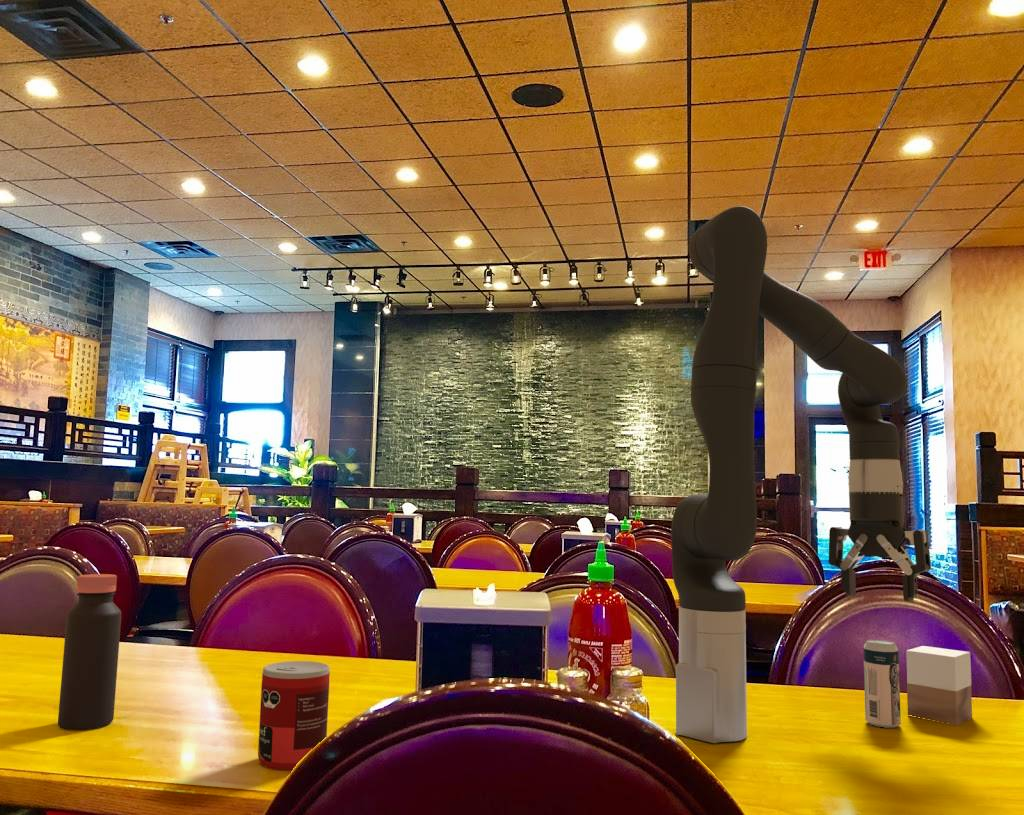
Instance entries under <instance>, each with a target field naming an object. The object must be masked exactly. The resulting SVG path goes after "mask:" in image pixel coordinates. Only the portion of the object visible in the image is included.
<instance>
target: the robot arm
mask: <svg viewBox="0 0 1024 815" xmlns="http://www.w3.org/2000/svg"><path fill="white" fill-rule="evenodd" d="M688 243H689V244H688V255H689V258H690V261H691V263H692V265H693V267H694V268H695V269H696V270H697V271H698V272H699V274H701V275H702V276H704V277H705V278H706V279H707V280H709V281H710V282H712V284H713V287H712V296H711V302H710V305H709V308H708V312H707V315H706V318H705V320H704V323H703V326H702V329H701V330H700V331H701V332H700V334H699V337H698V340H697V342H696V345H695V346H696V347H695V349H694V353H693V358H692V365H691V382H690V384H691V385H690V403H691V409H692V412H693V415H694V419H695V421H696V424H697V425H698V426H697V427H698V428H699V430H700V433H701V435H702V439H703V440H704V443H705V446H706V450H707V453H708V460H709V477H708V478H709V480H708V482H709V483H708V492H707V493H702V494H701V493H699V494H698V493H696V494H691V495H687V496H686V497H684V498H683V499H681V500H680V501H679V502H678V504H677V506H676V507H675V509H674V512H673V515H672V519H671V530H670V532H671V533H670V539H671V540H670V541H671V545H670V546H671V561H672V563H671V564H672V577H673V578H672V579H673V584H674V587H675V590H676V591H677V595H678V663H677V664H676V666H675V734H676V735H680V736H683V737H687V738H691V739H695V740H699V741H702V742H707V743H710V744H717V743H727V742H728V743H730V742H738V741H742V740H745V739H746V738H747V736H748V716H747V715H748V714H747V712H748V710H747V709H748V706H747V702H748V701H747V700H748V699H747V644H746V642H747V639H746V638H747V635H746V633H747V632H746V631H747V622H746V621H747V620H746V619H747V618H746V616H747V615H746V608H747V606H746V605H747V603H746V602H747V601H746V600H747V599H746V593H745V592H746V591H745V590H744V588H743V587H742V586H740V585H739V584H738V583H736V582H735V580H734V579H732V576H730V573H729V572H728V570H727V564H726V561H727V562H728V561H729V562H731V561H738V560H741V559H743V558H744V557H746V556H747V555H748V553H749V552H750V551H751V550H752V547H753V546H754V544H755V540H756V535H757V527H758V509H757V495H756V493H757V492H756V491H757V490H756V481H755V480H756V478H755V477H756V476H755V464H754V461H755V459H754V458H755V457H754V456H755V454H754V453H755V410H756V409H755V407H756V399H757V398H756V396H757V377H758V360H757V359H758V355H757V354H758V342H759V341H758V340H759V315H760V316H761V317H762V318H764V319H765V320H767V321H768V322H769V323H771V325H773V326H774V327H776V328H777V329H778V330H779V331H780V332H781V333H783V335H785V336H786V337H787V338H788V339H790V341H791V342H793V344H794V345H796V346H797V347H798V348H799V349H800V350H801V351H802V352H803V353H804V354H805V355H806V356H807V357H808V358H810V360H812V361H813V362H814V363H815V364H816V365H817V366H819V367H820V368H821V369H823V370H826V371H835V372H840V373H842V374H841V375H840V378H839V381H838V386H837V395H838V402H839V405H840V407H841V408H840V409H841V412H842V415H843V416H842V417H843V419H844V422H845V423H844V424H845V425H846V429H847V432H848V435H849V438H848V439H849V440H848V442H849V444H848V445H849V448H848V449H849V468H848V498H849V499H848V500H849V521H850V524H849V527H848V528H843V527H841V526H831V527H830V528H829V532H828V533H829V534H828V535H829V536H828V537H829V539H828V564H829V565H830V566H834V567H835V568H838V569H840V571H841V589H842V591H843V592H844V593H845V596H847V597H852V596H856V594H857V588H856V587H857V586H856V584H857V583H856V570H854V569H855V567H856V566H857V564H859V562H860V561H861V560H862V559H863V558H864V557H866V558H873V557H878V558H881V559H889V558H891V559H892V561H893V562H894V563H896V565H898V567H899V568H900V569H901V571H902V572H903V573H904V574H903V575H902V596H903V601H904V602H914V599H915V598H918V597H917V596H918V595H919V594H918V575H919V574H921V573H924V572H929V571H931V570H932V563H931V553H930V543H929V536H928V535H929V534H928V532H927V531H926V530H925V529H917V530H916V529H915V530H908V531H907V529H906V527H905V524H904V522H905V520H904V517H905V515H904V494H903V493H904V492H903V490H904V482H903V473H902V468H901V462H900V458H901V457H900V440H899V431H898V428H897V426H896V424H894V423H892V422H890V421H886V420H885V421H884V419H883V416H882V413H881V409H880V406H883V405H889V404H893V403H895V402H897V401H899V400H900V399H902V397H903V396H904V395H905V393H907V392H906V391H907V389H908V377H907V374H906V372H905V370H904V368H903V367H902V365H901V364H900V362H898V361H897V359H895V358H894V357H893V356H892V355H890V354H889V353H888V352H886V351H884V350H883V349H882V348H879V347H877V346H875V345H874V344H873V343H871V342H869V341H867V340H866V339H863V338H862V337H859V336H858V335H856V334H855V333H854V332H853V331H851V329H850V328H849V327H848V326H847V325H846V324H845V323H843V322H842V320H840V319H839V318H838V317H837V316H836V315H835V314H834V313H833V312H832V311H831V310H830V309H828V308H827V307H826V306H825V305H823V304H821V303H820V302H819V301H817V300H816V299H814V298H812V297H810V296H808V295H806V294H804V293H802V292H799V291H797V290H795V289H793V288H791V287H789V286H788V285H785V284H783V283H782V282H780V281H778V280H777V279H775V278H773V277H772V276H771V275H769V274H768V273H766V272H765V267H766V266H765V265H766V260H767V259H766V258H767V254H768V253H767V252H768V233H767V229H766V225H765V223H764V221H763V220H762V218H761V216H760V215H759V214H758V213H757V212H756V211H754V210H753V209H752V208H750V207H747V206H745V205H744V206H743V205H742V206H741V205H739V206H733V207H730V208H727V209H725V210H723V211H721V212H719V213H718V214H716V215H715V216H714V217H712V218H711V219H709V220H708V221H706V222H705V223H704V224H703V225H701V226H700V227H699V228H697V230H695V232H693V234H692V236H691V237H690V239H689V242H688ZM847 538H849V539H850V541H851V542H852V543H853V545H852V546H851V547H850V549H849V551H848V552H847V554H846V556H845V557H844V555H843V554H844V542H846V541H847ZM907 539H908V540H909V543H910V545H912V546H913V547H914V555H915V563H914V562H913V560H912V559H911V558H910V554H908V552H907V551H906V550H905V548H904V547H903V545H904V543H905V542H906V541H907Z"/></svg>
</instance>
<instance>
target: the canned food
mask: <svg viewBox="0 0 1024 815" xmlns="http://www.w3.org/2000/svg"><path fill="white" fill-rule="evenodd" d="M262 669H263V670H262V673H261V674H262V676H261V688H260V689H261V690H260V706H259V707H260V710H259V726H258V730H259V731H258V745H257V746H258V748H257V749H258V751H257V758H258V762H259V764H260V766H262V767H264V768H267V769H270V770H277V771H293V770H292V769H293V768H294V767H295V766H296V764H297V763H298V762H299V761H300V760H301V759H302V758H303V757H304V756H305V755H306V754H307V753H308V752H309V751H310V750H311V749H313V748H314V747H315V746H316V745H317V744H318V743H319V742H321V741H322V740H323V739H324V738H325V737H327V736H328V734H327V733H328V717H329V716H328V715H329V713H328V712H329V696H330V674H331V673H330V665H328V664H327V663H323V662H319V661H318V662H317V661H310V660H309V661H308V660H307V661H306V660H289V661H281V662H280V661H279V662H273V663H270V664H267V665H265V666H264V667H263V668H262Z"/></svg>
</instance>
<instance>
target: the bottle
mask: <svg viewBox="0 0 1024 815" xmlns="http://www.w3.org/2000/svg"><path fill="white" fill-rule="evenodd" d="M76 581H77V582H76V592H77V593H76V596H77V597H78V599H77V600H78V602H77V603H76V604H75V605H74V606H73V607H72V608H71V609H70V610H69V611H68V612H67V614H66V618H65V629H64V630H65V632H64V644H63V657H62V665H61V666H62V667H61V668H62V669H61V670H62V671H61V682H60V692H59V703H58V715H57V726H58V727H59V729H62V730H67V731H89V730H95V729H99V728H102V727H105V726H108V725H111V724H112V722H113V721H114V717H115V702H116V691H117V690H116V689H117V679H118V678H117V676H118V665H119V664H118V663H119V651H120V650H119V649H120V639H121V638H120V636H121V627H122V626H121V625H122V610H121V609H120V608H119V607H118V606H117V605H116V603H115V602H114V601H113V600H114V599H113V598H114V596H115V595H116V593H115V592H116V591H117V581H118V576H117V575H116V574H111V573H110V574H109V573H106V574H105V573H95V574H82V575H78V576H77V580H76Z"/></svg>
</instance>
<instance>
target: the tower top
mask: <svg viewBox="0 0 1024 815" xmlns="http://www.w3.org/2000/svg"><path fill="white" fill-rule="evenodd" d="M905 654H906V680H907V681H906V684H907V683H908V684H914V685H920V686H926V687H932V688H938V689H944V690H950V691H959V690H961V689H963V688H966V687H968V686H970V685H971V686H972V669H971V668H972V664H971V663H972V662H971V651H966V650H957V649H950V648H949V649H948V648H942V647H935V646H927V645H921V646H918V647H913V648H911V649H906V652H905Z"/></svg>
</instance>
